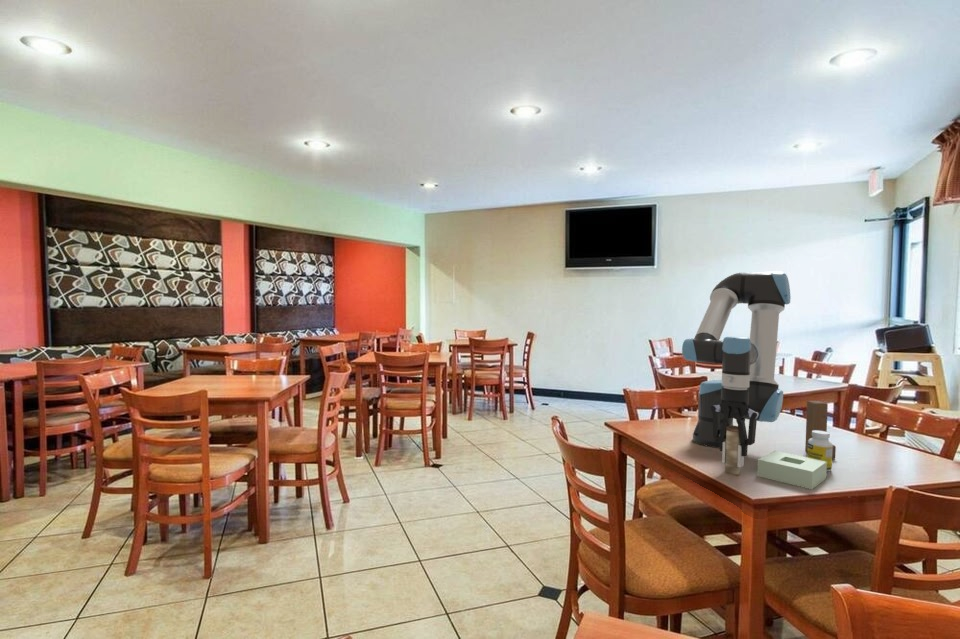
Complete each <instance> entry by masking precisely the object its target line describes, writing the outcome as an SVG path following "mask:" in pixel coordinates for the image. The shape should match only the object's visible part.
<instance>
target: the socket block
mask: <svg viewBox="0 0 960 639" xmlns="http://www.w3.org/2000/svg"><path fill="white" fill-rule="evenodd" d="M826 470H827V462H826V461H821V460H816V459H811V458H807V456H802V455H796V454H792V453H788V452H783V451H778V450H774V451H772V452H769V453H767V454H766V455H764V456H761V457H760V458H758V459H757V477H761V478H764V479H769V480H773V481H777V482H781V483H784V484H789V485H792V486H796V485H797V487H800V486H801V487H800V488H804V487H805V489H808V488H809V490H813V489H814V488H816V487H817V486H818V485H820V484H821V483H822V482H824V481H825V480H826V479H827V471H826Z"/></svg>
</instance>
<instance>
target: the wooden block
mask: <svg viewBox="0 0 960 639" xmlns="http://www.w3.org/2000/svg"><path fill="white" fill-rule="evenodd" d="M828 410H829V408H828V403H826V402H823V401H821V400H807V401H806V419H805V448H804V449H805V452H806V453H807V450H808V440H809V439H810V438H812V437H813V436H812V431H813V430H818V431H825V432H828V431H827V430H828V429H827V428H828ZM836 452H837V448H836V445H834V444H833V451H832V460H835V459H836Z"/></svg>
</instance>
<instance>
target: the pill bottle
mask: <svg viewBox="0 0 960 639" xmlns="http://www.w3.org/2000/svg"><path fill="white" fill-rule="evenodd" d="M830 434H831V433H830V432H828V431H827V432H825V431H818V430H813V431H812V436H813V437H812V438H810V439H809V440H808V450H807V452H806V453H807V455H806V457H807V458H811V459H816V460H821V461H826V462H827V470H826V472H829V471H831V470H832V467H833V466H832V465H833V459H832V451H833V445H834V444H833V443H832V441H831V440H830Z"/></svg>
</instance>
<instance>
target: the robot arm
mask: <svg viewBox="0 0 960 639" xmlns="http://www.w3.org/2000/svg"><path fill="white" fill-rule="evenodd" d="M791 299H792V298H791V288H790V282H789V277H788V275H787V273H785V272H784V271H772V270H771V271H761V272H760V271H759V272H758V271H756V272H755V271H754V272H752V271H751V272H750V271H749V272H738V273H737V272H736V273H733V274H731V275H728V276H727V277H725V278H723V280H721V281H719V282H718V284H716V285H715V287H714V288H713V289H712V290H711V293H710V295H709V300H710V302H709V304H708V307H707V309H706V311H705V313H704V315H703V317H702V320H701V322H700V325H699V327H698V328H697V331H696V334H695V336H694V337H693V338H686V339H685V340H683V342H682V348H681V353H682V356H683V359H684V360H686V361H689V362H694V363H696V362H697V363H707V364H708V363H710V364H721V379H716V380H715V379H714V380H713V379H712V380H706V381H702V382H701V383H700V385H699V391H698V417H697V418H698V419H697V423H696V425H695V428H694V430H693V433H692V441H693V442H694V443H695V444H698V445H700V446H701V445H702V446H705V447H710V448H717V449H718V448H719V452H721V454H722V456H721V457H722V458H721V464H724V465H725V462H726V427H727V426H729V425H732V426H734V419H735V421H736V423H737V426H738V429H739V436H740V442H741V444H740V445H738V464H737V467H740V468H742V467H744V463H745V457H747V456H748V447H749V446H752V445H753V444H755V442H756V435H757V434H756V432H757V422H760V423H762V422H766V423H773V422H776V421H777V420H778V419H779V417H780V413H781V411H782V408H783V407H782V406H783V402H784V390H782V389H781V388H780V389H779V386H780V385H779V384H778V382H777V381H776V380H775V370H776V360H777V349H778V348H777V346H778V332H779V322H780V321H779V319H780V313H782V312H783V311H784V310H785V307H786V305H789V304H791ZM738 304H747V308H748V309H749V311H750V312H751V320H750V321H751V323H750V333H749V337H746V336H725V337H723V340H721V336H722V334H723V331H724V329H725V326H726V324H727V322H728V320H729V317H730V314H731V313H732V311H733V310H732V309H734V308H735V307H737V305H738ZM746 420H748V431H747V427H746V423H745V422H746Z"/></svg>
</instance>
